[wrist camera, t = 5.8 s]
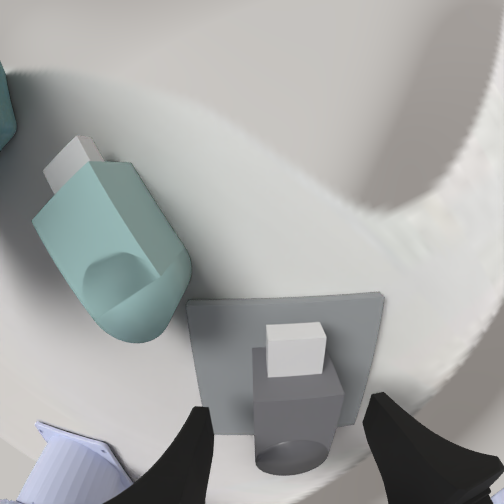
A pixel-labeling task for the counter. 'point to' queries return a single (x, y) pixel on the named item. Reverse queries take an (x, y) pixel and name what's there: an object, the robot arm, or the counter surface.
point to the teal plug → (112, 243)
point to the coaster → (254, 335)
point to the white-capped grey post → (294, 399)
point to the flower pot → (5, 112)
